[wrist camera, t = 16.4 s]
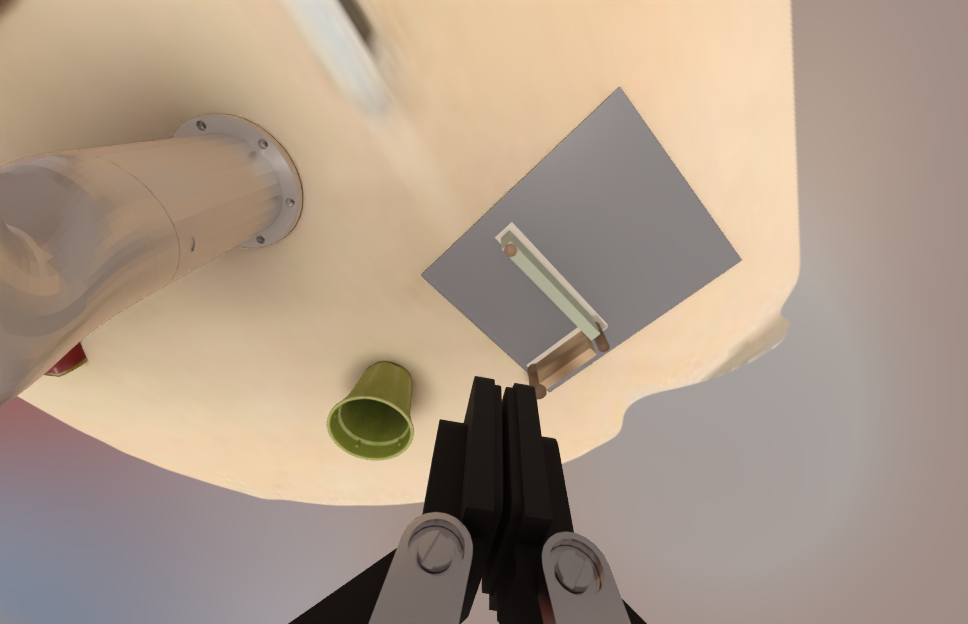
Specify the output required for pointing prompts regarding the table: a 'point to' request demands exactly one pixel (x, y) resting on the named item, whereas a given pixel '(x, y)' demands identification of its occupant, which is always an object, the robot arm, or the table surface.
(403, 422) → the plant pot
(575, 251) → the card
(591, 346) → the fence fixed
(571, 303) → the bar
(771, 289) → the table surface
